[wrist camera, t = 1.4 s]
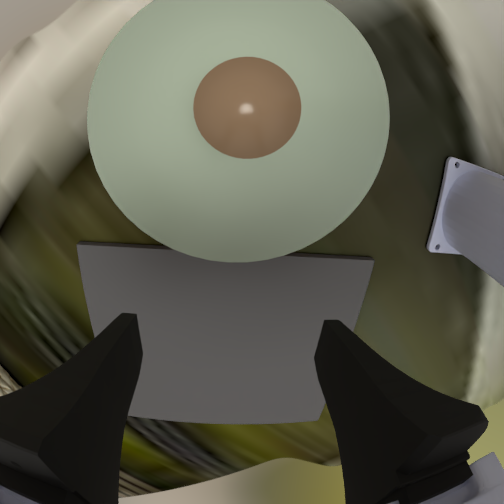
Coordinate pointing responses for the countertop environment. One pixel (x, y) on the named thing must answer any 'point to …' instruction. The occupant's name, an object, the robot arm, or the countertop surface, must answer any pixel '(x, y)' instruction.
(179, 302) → the rubber mat
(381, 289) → the countertop surface
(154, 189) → the lid
